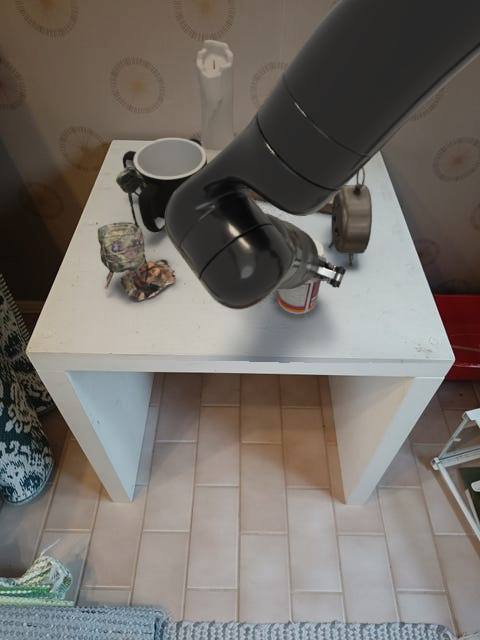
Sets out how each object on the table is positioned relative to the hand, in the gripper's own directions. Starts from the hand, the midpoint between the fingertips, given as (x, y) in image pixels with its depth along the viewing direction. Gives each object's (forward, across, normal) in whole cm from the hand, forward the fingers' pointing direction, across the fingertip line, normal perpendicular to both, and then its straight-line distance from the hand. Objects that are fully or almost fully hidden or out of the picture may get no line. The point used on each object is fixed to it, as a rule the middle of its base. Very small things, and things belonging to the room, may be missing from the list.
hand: (305, 263), depth 64 cm
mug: (+10, +28, 0) cm, 30 cm away
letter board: (+22, +9, -12) cm, 27 cm away
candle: (+25, +32, -15) cm, 43 cm away
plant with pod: (-2, +24, +12) cm, 27 cm away
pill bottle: (+4, 0, +6) cm, 7 cm away
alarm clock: (+14, -2, -4) cm, 15 cm away
